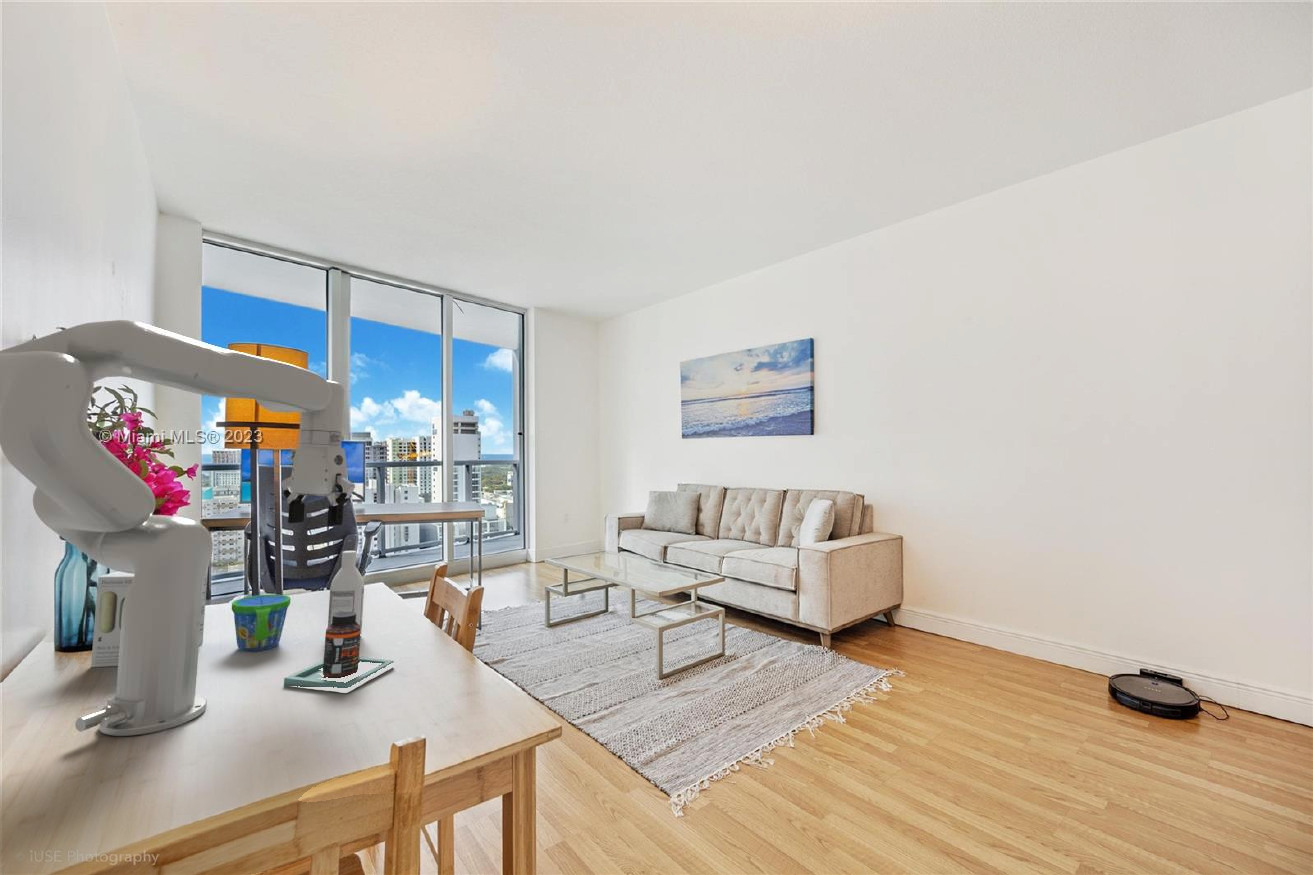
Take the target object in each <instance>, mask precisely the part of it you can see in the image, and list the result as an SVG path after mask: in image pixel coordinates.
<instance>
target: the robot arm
mask: <svg viewBox="0 0 1313 875" xmlns="http://www.w3.org/2000/svg"><path fill="white" fill-rule="evenodd" d="M111 377H115V378H116V377H122V378H129V379H130V378H131V379H134V380H138V381H143V382H147V383H151V384H155V385H160V386H164V387H170V388H174V389H176V390H177V389H178V390H181V391H185V392H190V393H193V394H197V395H201V396H208V397H216V398H221V399H222V398H223V399H246V400H247V399H248V400H255V401H256V402H257V404H258V405H259V406H260V407H261V408H264V409H266V410H267V411H270V412H275V413H283V414H285V413H287V414H288V413H299V414H300V418H299V420H300V421H299V434H298V435H299V436H298V438H299V439H298V446H296V449H295V450H296V451H295V453H294V458H293V462H292V468H291V474H290V476H289V477H287V478H285V479H283V480H282V481H281V483H280V484H281V488H282V490H283V495H284V496H285V498H286V503H287V504H288V518H287V522H288V524H296V523H303V522H304V520H305V508H306V507H305V502H303V501H304V500H305V499H306V497H307V496H312V497H313V496H314V497H315V496H316V497H327V500H328V501H329V503H330V505H328V508H327V523H326V524H327V526H329V527H333V526H341V525H343V520H344V519H343V518H344V516H343V515H344V506H346V505H347V503H348V501H349V500H350V499H351V497H352V494H353V492H354V490H355V488H356V484H354V483H353V482H352V481H350V480H349V479H348V467H347V456H346V452H345V448H344V447H342V442H344V440H345V437H344V436H343V435H342V434H343V419H344V408H345V407H344V406H345V405H344V404H345V387H344V386H343V384H342V383H340V382H337V381H331V380H327V379H326V378H325V377H324V376H322V375H320V374H319V373H316V372H314V371H312V370H309V369H306V368H303V367H301V366H300V367H299V366H296V365H294V364H290V363H287V362H283V361H278V360H275V359H271V358H266V357H262V356H256V355H253V354H249V353H245V352H240V351H236V350H232V349H231V350H230V349H226V348H222V347H219V346H215V345H213V344H208V343H206V342H203V341H199V340H196V339H193V338H191V337H188V336H183V335H180V334H177V333H175V332H171V331H169V330H164V329H163V328H159V327H156V326H152V325H150V324H146V323H142V322H139V321H134V320H126V319H119V320H118V319H116V320H109V321H108V320H105V321H104V320H103V321H94V322H87V323H86V322H85V323H82V324H81V323H80V324H77V325H75V326H72V327H69V328H66V329H63V330H59V331H56V332H54V333H51V334H48V335H45V336H43V337H39V338H36V339H33V340H30V341H27V342H23V343H20V344H18V345H17V344H16V345H14V346H10V347H8V348H5V349H1V350H0V448H1V451H2V453H3V455H4V456H5V458H6V460H7V461H8V463H10V465H12V467H14V469H16V471H18V472H19V473H20V474H21V475H23V477H25V478H26V479H27V480H28V481H30V483H32V484H33V485H34V486H35V490H34V493H33V494H32V495H33V497H32V507H33V509H34V511H35V514H36V515H37V517H38V518H39V519H40V520H41V522H42V523H43V524H45V526H46V527H47V528H49V529H50V530H52V531H53V532H54V533H56V534H57V535H59V537H61V538H63V539H64V540H65V541H67V542H68V543H69V544H71V545H72V546H73V547H75V548H76V549H78V550H79V551H81V553H83V554H85V555H86V556H87V557H89V558H91V559H92V560H94V561H95V562H96V563H98V564H100V565H101V566H103V567H105V568H108V569H110V570H112V571H115V572H116V571H120V572H126V573H133V574H135V575H134V578H133V581H132V583H131V585H130V587H129V589H128V592H127V594H126V597H125V600H124V604H123V609H122V619H121V636H120V648H119V661H118V666H117V673H116V674H117V676H116V686H115V687H116V688H115V696H113V697H110V698H107V701H106V706H104V707H102V708H101V709H100V710H99V711H97V712H92V713H89V714H86V715H83V716H80V717H78V718H77V719H76V721H75V723H74V726H75V729H76V730H77V731H78V732H80V733H81V732H84V731H86V730H89V729H91V728H95V727H96V726H98V725H99V727H98V728H99V731H100V732H101V733H102V734H105V735H107V736H114V737H115V736H116V737H127V736H129V737H130V736H138V735H145V734H150V733H155V732H160V731H164V730H168V729H171V728H174V727H177V726H180V725H183V724H185V723H187V722H190V721H191V720H194V719H195V718H197V717H198V716H201V715H202V714H203V713H204V712H205V711H206V709H207V705H208V704H207V699H206V697H204V696H201V695H198V694H196V689H197V688H196V687H197V676H198V675H197V674H198V661H199V660H198V659H199V648H200V645H199V635H200V621H201V605H202V594H203V586H204V581H205V576H206V573H207V569H208V570H209V566H210V561H211V559H212V554H213V551H214V550H213V548H214V547H213V546H214V541H213V538H212V535H211V533H210V531H208V529H207V528H206V526H204V525H203V524H201V523H200V522H198V521H197V520H193V519H192V518H191V519H190V518H187V517H182V516H175V515H173V516H172V515H162V514H160V515H159V514H153V513H154V512H155V509H156V498H155V494H154V493H153V491H152V489H151V488H150V486H148V484H147V483H146V482H145V481H144V480H143V479H142V478H141V477H139V476H138V475H137V474H135V473H134V472H133V470H131V469H130V468H128V466H126V465H125V464H124V463H123V462H122V461H121V460H119V458H117V457H116V456H115V455H114V454H113V453H111V451H110V450H108V448H106V447H105V446H104V445H103V444H102V442H100V441H99V440H98V439H97V437H95V435H94V434H93V432H92V431H91V428H90V427H89V422H88V410H89V406H90V403H91V400H92V397H93V394H94V391H95V390H94V389H95V387H94V386H95V383H96V382H98V381H100V380H102V379H105V378H111Z"/></svg>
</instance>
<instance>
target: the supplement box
mask: <svg viewBox="0 0 1313 875" xmlns="http://www.w3.org/2000/svg"><path fill="white" fill-rule="evenodd" d="M208 572H209V568H208V569H207V573H206V576H205V581H204V586H203V594H202V605H201V621H200V635H199V646H201V645H202V644H203V643H204V627H205V616H206V615H205V614H206V613H205V611H206V601H207V600H206V598H207V585H208V574H209V573H208ZM134 575H135V574H133V573H126V572H120V571H116V570H115V571H113V572H110V573H107V574H103V575H100V576H98V577H97V589H96V590H97V591H96V601H95V611H94V612H95V613H94V624H93V625H94V627H93V628H94V629H93V637H92V651H91V661H90V662H91V664H90V667H91V668H102V667H118V661H119V648H120V636H121V619H122V609H123V604H124V600H125V597H126V594H127V592H128V589H129V587H130V585H131V583H132V581H133V578H134Z"/></svg>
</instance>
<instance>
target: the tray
mask: <svg viewBox="0 0 1313 875" xmlns="http://www.w3.org/2000/svg"><path fill="white" fill-rule="evenodd" d="M360 661H361V662H370V663H371V662H372V663H382V664H381V665H379V666H378V667H376V668H374V669H372V670H370V671H368V672H366V673H364V674H362V675H360V676H358V677H356V678H354V679H352V680H350V681H348V682H346V683H344V682H336V681H327V680H321V679H318V678H326V677H325V676H324V677H322V676H321V675H320V674H318V673H323V671H321V670H319V669H321V668H323V663H324V660H322V661H320V662H318V663H316V664H313V665H310V666H308V667H306V668H303V669H302V670H301V669H300V670H299V671H297V672H294V673H293V674H291V675H290V674H289V675H287V676H286V677H284V678H283V687H285V686H297V687H298V686H300V687H333V688H334V687H337V688H348V687H351V686H352V685H354V684H356V683H357V682H360V681H361V680H363V679H364V678H367V677H368V676H370V675H371V674H373V673H376V672H377V671H378V670H380V669H382V668H385V667H386V666H387V665H389V664H391V663H393V662H394V663H395V660H391V659H379V658H371V657H363V656H362V657H361V656H359V662H360ZM317 674H318V675H317Z"/></svg>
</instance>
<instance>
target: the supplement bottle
mask: <svg viewBox="0 0 1313 875" xmlns="http://www.w3.org/2000/svg"><path fill="white" fill-rule="evenodd" d="M360 632H361V627H360V625H359V624H358V623H357V622H356V613H355V612H339V613H336V614H334V615H333V618H332V624H331V625H330V626H329V627H328V626H327V628H326V630H325V637H324V650H323V651H324V652H323V661H324V663H323V675H324V676H325V677H328V678H341V677H345V676H348V675H351V674H353V673H356V672H357V670H358V663H359V657H360V646H361V636H360V634H361V635H362V632H361V633H360Z"/></svg>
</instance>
